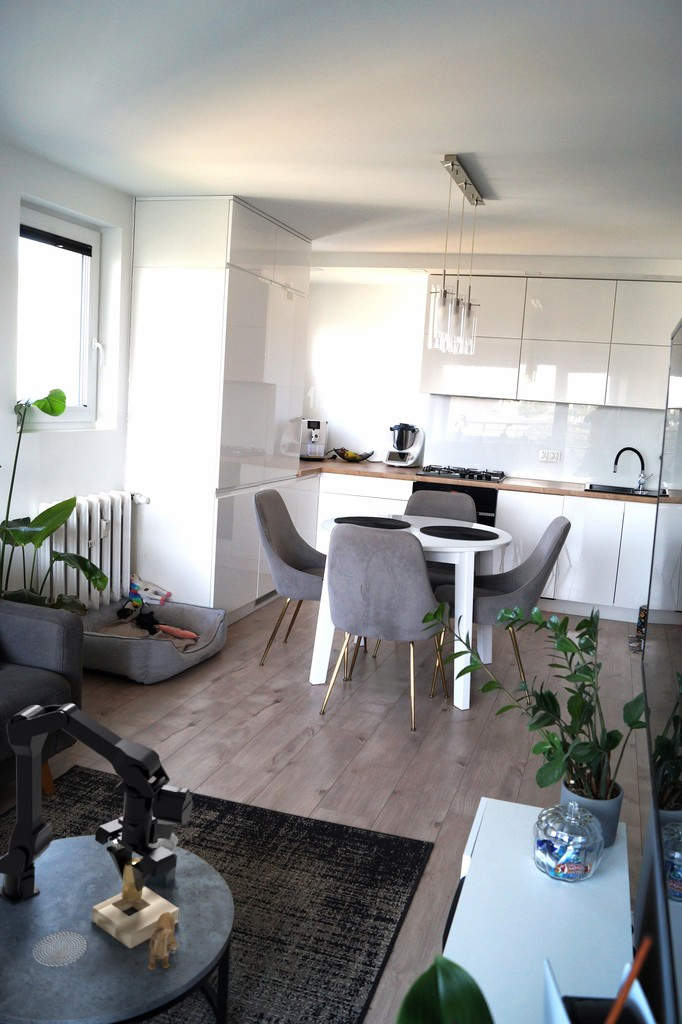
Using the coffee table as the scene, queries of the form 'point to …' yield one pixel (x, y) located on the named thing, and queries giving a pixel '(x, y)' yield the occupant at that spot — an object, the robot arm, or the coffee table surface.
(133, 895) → the brass cylinder plug
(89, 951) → the coffee table surface
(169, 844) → the watch
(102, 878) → the coffee table surface
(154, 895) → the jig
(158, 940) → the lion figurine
